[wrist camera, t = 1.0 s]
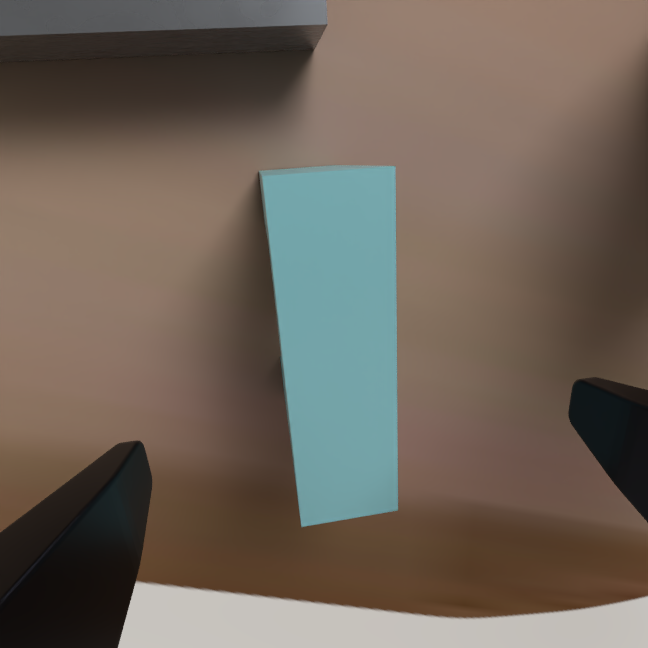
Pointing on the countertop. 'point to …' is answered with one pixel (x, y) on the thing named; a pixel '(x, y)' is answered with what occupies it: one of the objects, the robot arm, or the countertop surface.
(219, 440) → the countertop surface
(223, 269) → the countertop surface
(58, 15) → the rail plate
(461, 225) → the countertop surface
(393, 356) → the clip
